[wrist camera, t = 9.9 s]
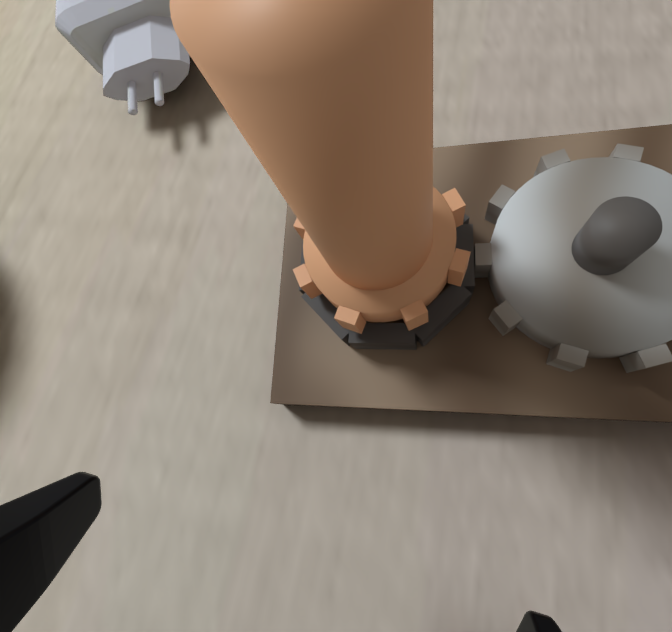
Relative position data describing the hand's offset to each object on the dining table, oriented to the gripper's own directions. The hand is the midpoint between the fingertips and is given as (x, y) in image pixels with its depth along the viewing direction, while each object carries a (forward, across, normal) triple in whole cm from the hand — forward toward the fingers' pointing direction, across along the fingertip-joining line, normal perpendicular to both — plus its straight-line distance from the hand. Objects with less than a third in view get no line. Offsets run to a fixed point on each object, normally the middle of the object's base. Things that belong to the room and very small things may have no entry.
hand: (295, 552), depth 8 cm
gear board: (+13, -4, -3) cm, 14 cm away
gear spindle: (+12, 0, -3) cm, 12 cm away
